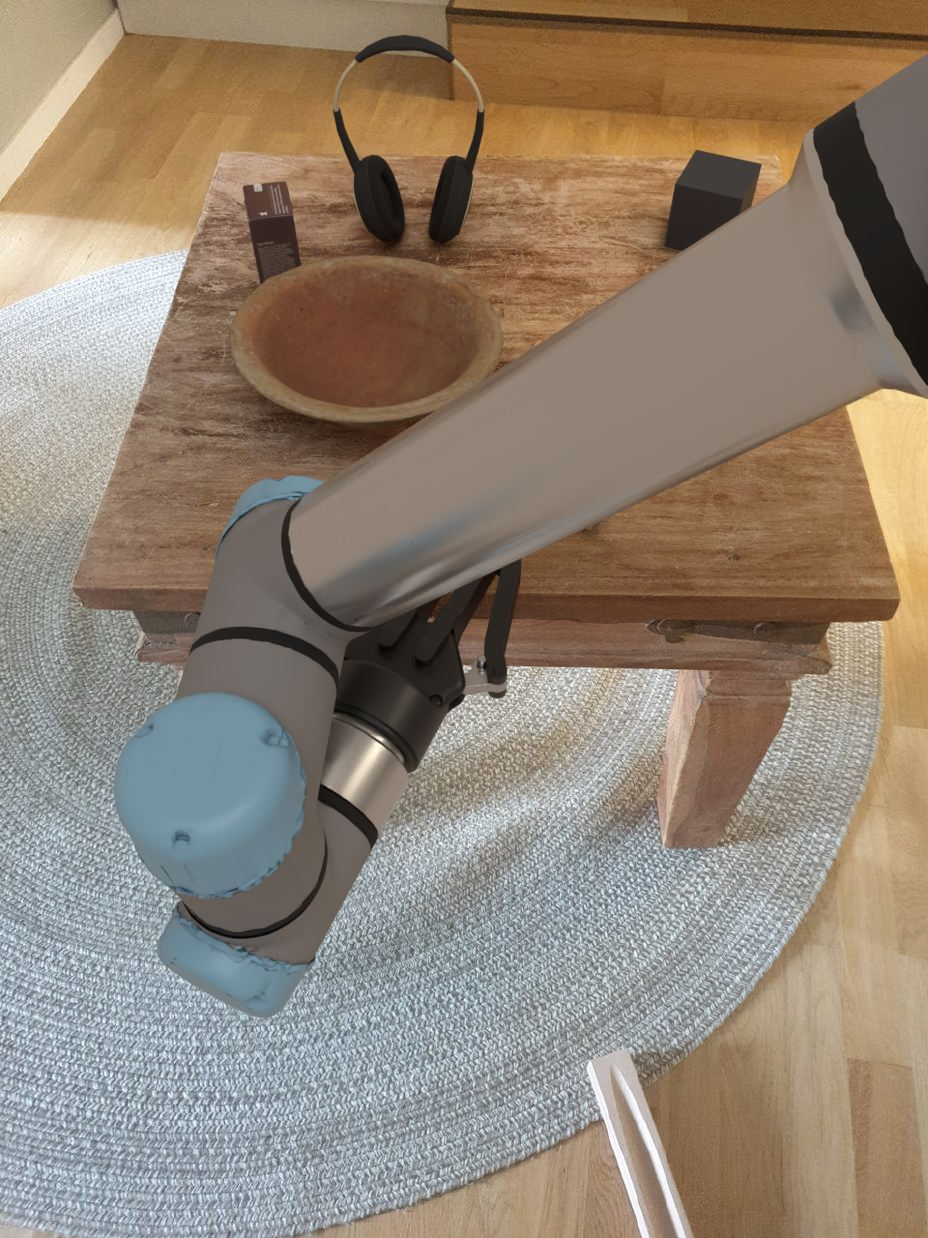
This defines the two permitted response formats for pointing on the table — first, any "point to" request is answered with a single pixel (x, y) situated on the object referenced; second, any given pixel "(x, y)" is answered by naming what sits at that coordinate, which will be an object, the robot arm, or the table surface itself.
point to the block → (709, 196)
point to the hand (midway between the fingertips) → (516, 478)
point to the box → (271, 228)
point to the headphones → (377, 180)
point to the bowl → (365, 339)
